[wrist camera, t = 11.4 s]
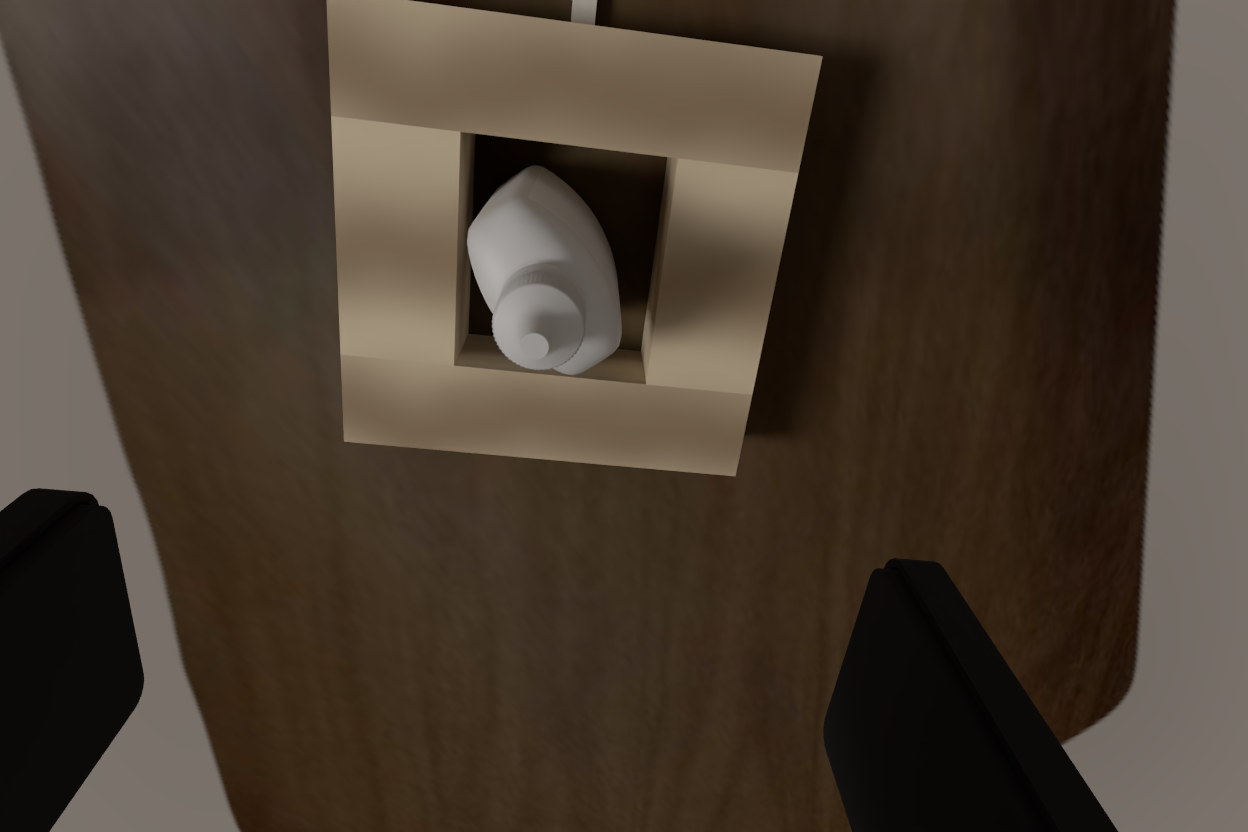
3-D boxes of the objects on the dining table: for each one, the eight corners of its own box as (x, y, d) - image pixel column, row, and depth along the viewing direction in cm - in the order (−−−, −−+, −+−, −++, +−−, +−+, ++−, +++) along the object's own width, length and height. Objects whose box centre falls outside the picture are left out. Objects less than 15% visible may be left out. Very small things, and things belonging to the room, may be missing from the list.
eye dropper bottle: (608, 157, 28) (616, 222, 17) (619, 304, 31) (631, 443, 20) (489, 166, 28) (423, 236, 17) (509, 313, 31) (462, 455, 20)
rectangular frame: (359, -3, 26) (326, -11, 23) (795, 55, 27) (822, 56, 24) (368, 403, 32) (344, 441, 29) (722, 436, 33) (735, 476, 30)
